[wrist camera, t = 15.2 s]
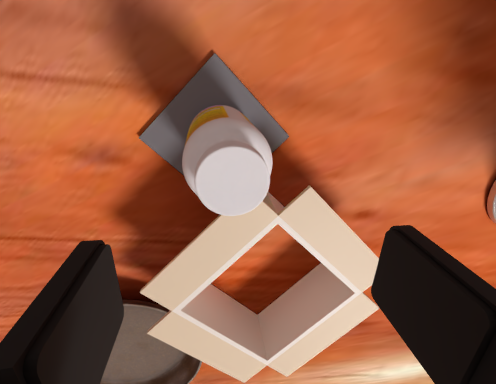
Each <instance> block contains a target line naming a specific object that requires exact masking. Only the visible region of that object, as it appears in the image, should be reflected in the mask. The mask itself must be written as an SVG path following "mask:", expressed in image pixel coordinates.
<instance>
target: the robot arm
mask: <svg viewBox="0 0 496 384" xmlns="http://www.w3.org/2000/svg"><path fill="white" fill-rule="evenodd" d="M487 210H488V214H489V217H490V219H491V220H492V221H493V222H494V223H495V224H496V180H495V181H494V183H493V185H492V187H491V190H490V192H489V196H488V201H487ZM371 293H372V297H373V299H374V300H375V302H376V303H377V305H378V306H379V307H380V309H381V310H382V311H383V313H384V314H385V316H386V317H387V318H388V320H389V321H390V322H391V324H392V325H393V327H394V328H395V329H396V331H397V332H398V334H399V335H400V336H401V338H402V339H403V340H404V342H405V343H406V345H407V346H408V347H409V349H410V350H411V351H412V353H413V354H414V356H415V357H416V358H417V360H418V361H419V363H420V364H421V365H422V367H423V368H424V369H425V371H426V372H427V374H428V375H429V376H430V378H431V379H432V380H433V382H434V383H435V384H496V289H495V288H494V287H492V286H491V285H490V284H488V283H487V282H486V281H484V280H483V279H482V278H480V277H479V276H478V275H476V274H475V273H474V272H472V271H471V270H470V269H468V268H467V267H466V266H464V265H463V264H462V263H460V262H459V261H458V260H456V259H455V258H454V257H452V256H451V255H450V254H448V253H447V252H446V251H444V250H443V249H442V248H440V247H439V246H438V245H436V244H435V243H434V242H432V241H431V240H430V239H428V238H427V237H426V236H424V235H423V234H422V233H420V232H419V231H418V230H416V229H415V228H414V227H412V226H410V225H403V226H393V227H391V228H390V230H389V231H387V232H386V234H385V238H384V242H383V246H382V250H381V253H380V257H379V261H378V265H377V269H376V273H375V276H374V280H373V284H372V288H371ZM123 317H124V306H123V301H122V297H121V292H120V288H119V283H118V278H117V274H116V269H115V264H114V260H113V255H112V251H111V247H110V245H108V244H107V245H105V243H104V242H103V241H102V240H94V241H81V242H80V243H79V244H78V245H77V247H76V248H75V249H74V250H73V252H72V253H71V254H70V255H69V257H68V258H67V259H66V261H65V262H64V263H63V264H62V266H61V267H60V268H59V269H58V271H57V272H56V273H55V274H54V276H53V277H52V278H51V280H50V281H49V282H48V283H47V285H46V286H45V287H44V288H43V290H42V291H41V292H40V293H39V295H38V296H37V297H36V298H35V300H34V301H33V302H32V303H31V305H30V306H29V307H28V308H27V310H26V311H25V312H24V314H23V315H22V316H21V317H20V319H19V320H18V321H17V322H16V324H15V325H14V326H13V327H12V329H11V330H10V331H9V332H8V334H7V335H6V336H5V338H4V339H3V340H2V341H1V343H0V384H100V382H101V379H102V376H103V374H104V371H105V368H106V365H107V363H108V360H109V357H110V354H111V352H112V349H113V346H114V343H115V341H116V338H117V335H118V332H119V329H120V327H121V324H122V321H123Z"/></svg>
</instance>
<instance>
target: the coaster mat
mask: <svg viewBox="0 0 496 384" xmlns="http://www.w3.org/2000/svg"><path fill="white" fill-rule="evenodd" d="M215 105H226V106H230V107H233V108H235V109H237V110H238V111H240V112H241V113H242V114H243V115H245V116H246V117H247V119H248V120H249V121H250V122H251V123H252V124H253V125H254V126H255V127H256V128H257V129H258V130H259V131H260V132H261V133H262V134H263V136H264V137H265V138H266V140H267V142H268V144H269V146H270V149H271V153H273V152H274V151H275V150H276V149H277V148H278V147H279V146H280V145H281V144H282V143H283V142H284V141H285V140H286V139H287V138H288V137H289V136H288V134H287V133H286V132H285V131H284V130H283V129H282V128H281V127H280V125H279V124H278V123H277V122H276V121H275V120H274V119H273V118H272V116H271V115H270V114H269V113H268V112H267V111H266V110H265V109H264V108H263V106H262V105H261V104H260V103H259V102H258V101H257V100H256V99H255V97H254V96H253V95H252V94H251V93H250V92H249V91H248V90H247V88H246V87H245V86H244V85H243V84H242V83H241V82H240V81H239V80H238V78H237V77H236V76H235V75H234V74H233V73H232V72H231V71H230V69H229V68H228V67H227V66H226V65H225V64H224V63H223V62H222V60H221V59H220V58H219V57H218V56H217V55H216V54H214V55H213V56H212V57H211V58H210V59H209V60H208V61H207V62H206V64H205V65H204V66H203V67H202V68H201V69H200V70H199V71H198V72H197V74H196V75H195V76H194V77H193V78H192V79H191V80H190V81H189V82H188V84H187V85H186V86H185V87H184V88H183V89H182V90H181V91H180V92H179V94H178V95H177V96H176V97H175V98H174V99H173V100H172V101H171V102H170V104H169V105H168V106H167V107H166V108H165V109H164V110H163V111H162V112H161V114H160V115H159V116H158V117H157V118H156V119H155V120H154V121H153V122H152V123H151V125H150V126H149V127H148V128H147V129H146V130H145V131H144V132H143V133H142V135H141V136H140V137H139V139H141V140H142V141H143V142H144V143H145V144H147V145H148V146H149V147H150V148H151V149H153V150H154V151H155V152H156V153H157V154H159V155H160V156H161V157H162V158H163V159H165V160H166V161H167V162H168V163H170V164H171V165H172V166H173V167H174V168H176V169H177V170H178V171H179V172H180V173H182V174H183V175H184V173H183V168H182V157H183V151H184V147H185V143H186V138H187V134H188V130H189V127H190V125H191V123H192V121H193V119H194V118H195V117H196V115H197V114H198V113H200V112H201V111H202V110H204V109H206V108H208V107H211V106H215Z"/></svg>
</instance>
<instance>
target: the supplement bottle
mask: <svg viewBox="0 0 496 384" xmlns="http://www.w3.org/2000/svg"><path fill="white" fill-rule="evenodd" d="M272 164H273V161H272V153H271V149H270V146H269V144H268V142H267V140H266V138H265V137H264V136H263V134H262V133H261V132H260V131H259V130H258V129H257V128H256V127H255V126H254V125H253V124H252V123H251V122H250V121H249V120H248V119H247V117H246V116H245V115H243V114H242V113H241V112H240V111H238V110H237V109H235V108H233V107H230V106H226V105H215V106H211V107H208V108H206V109H204V110H202V111H201V112H200V113H198V114H197V115H196V117H195V118H194V119H193V121H192V123H191V125H190V127H189V130H188V134H187V138H186V143H185V147H184V151H183V157H182V168H183V173H184V177H185V179H186V181H187V183H188V185H189V187H190V188H191V189H192V191H193V192H194V193H195V194H196V195H197V196H198V197H199V199H200V200H201V202H202V203H203V204H204V205H205V206H206V207H207V208H208V209H210V210H211V211H213V212H215V213H217V214H220V215H225V216H237V215H242V214H245V213H248V212H250V211H252V210H253V209H255V208H256V207H257V206H258V205H259V204H260V203H261V202H262V201H263V200H264V198H265V196H266V195H267V192H268V189H269V185H270V175H271V171H272Z"/></svg>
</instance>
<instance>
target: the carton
mask: <svg viewBox="0 0 496 384" xmlns="http://www.w3.org/2000/svg"><path fill="white" fill-rule="evenodd" d="M277 224H279V225H280V226H281V227H282V228H283V229H284V230H285V231H287V232H288V233H289V234H290V235H291V236H292V237H293V238H294V239H295V240H297V241H298V242H299V243H300V244H301V245H302V246H303V247H304V248H305V249H307V250H308V251H309V252H310V253H311V254H312V255H313V256H314V257H316V258H317V259H318V260H319V261H320V262H321V263H320V264H319V265H318V266H316V267H315V268H314V269H313V270H311V271H310V272H309V273H308V274H307V275H305V276H304V277H303V278H302V279H300V280H299V281H298V282H297V283H296V284H294V285H293V286H292V287H291V288H290V289H288V290H287V291H286V292H285V293H283V294H282V295H281V296H280V297H279V298H277V299H276V300H275V301H274V302H272V303H271V304H270V305H269V306H268V307H266V308H265V309H264V310H263V311H261V312H260V313H259V314H258V315H257V314H255V313H254V312H252V311H251V310H249V309H248V308H246V307H245V306H243V305H242V304H240V303H239V302H237V301H236V300H234V299H233V298H231V297H230V296H228V295H227V294H225V293H224V292H222V291H221V290H219V289H218V288H216V287H215V286H213V285H212V284H211V283H212V282H213V281H214V280H215V279H216V278H217V277H218V276H220V275H221V274H222V273H223V272H224V271H225V270H226V269H227V268H229V267H230V266H231V265H232V264H233V263H234V262H235V261H236V260H238V259H239V258H240V257H241V256H242V255H243V254H244V253H245V252H247V251H248V250H249V249H250V248H251V247H252V246H253V245H254V244H256V243H257V242H258V241H259V240H260V239H261V238H262V237H263V236H265V235H266V234H267V233H268V232H269V231H270V230H271V229H272V228H274V227H275V226H276V225H277ZM378 261H379V258H378V257H377V256H376V255H375V254H374V253H373V252H372V251H371V250H370V249H369V248H368V247H367V246H366V245H365V243H364V242H363V241H362V240H361V239H360V238H359V237H358V236H357V235H356V234H355V233H354V232H353V231H352V230H351V229H350V228H349V227H348V225H347V224H346V223H345V222H344V221H343V220H342V219H341V218H340V217H339V216H338V215H337V214H336V213H335V212H334V211H333V210H332V209H331V208H330V206H329V205H328V204H327V203H326V202H325V201H324V200H323V199H322V198H321V197H320V196H319V195H318V194H317V193H316V192H315V191H314V190H313V188H312V187H311V186H310V185H309V186H308V187H307V188H306V189H304V190H303V191H302V192H301V193H300V194H299V195H298V196H297V197H296V198H294V199H293V200H292V201H291V202H290V203H289V204H288V205H287V206H285V207H284V206H283V205H282V204H281V203H280V202H279V201H278V200H277V199H276V198H274V197H273V196H272V195H271V194H270V193H269V192H267V195H266V196H265V198H264V200H263V201H262V202H261V203H260V204H259V205H258V206H257V207H256V208H255V209H253V210H252V211H250V212H248V213H245V214H242V215H237V216H225V215H219V216H218V217H217V218H216V219H215V220H214V221H213V222H211V223H210V224H209V225H208V226H207V227H206V228H205V229H204V230H203V231H202V232H201V233H200V234H199V235H198V236H197V237H196V238H195V239H194V240H192V241H191V242H190V243H189V244H188V245H187V246H186V247H185V248H184V249H183V250H182V251H181V252H180V253H179V254H178V255H177V256H176V257H175V258H173V259H172V260H171V261H170V262H169V263H168V264H167V265H166V266H165V267H164V268H163V269H162V270H161V271H160V272H159V273H158V274H157V275H156V276H155V277H153V278H152V279H151V280H150V281H149V282H148V283H147V284H146V285H145V286H144V287H143V288H142V289H141V290H140V293H141V294H143V295H144V296H146V297H148V298H150V299H151V300H153V301H155V302H157V303H158V304H160V305H162V306H164V307H165V308H167V309H169V310H170V311H169V312H168V313H166V314H165V315H164V316H163V317H162V318H161V319H160V320H159V321H158V322H156V323H155V324H154V325H153V326H152V327H151V328H150V329H149V330H148V331H147V334H149V335H151V336H153V337H155V338H157V339H159V340H161V341H163V342H165V343H167V344H169V345H171V346H173V347H175V348H176V349H178V350H180V351H182V352H184V353H186V354H188V355H190V356H192V357H194V358H196V359H198V360H200V361H202V362H204V363H206V364H208V365H210V366H212V367H214V368H216V369H218V370H220V371H222V372H224V373H226V374H228V375H230V376H232V377H234V378H236V379H238V380H240V381H242V382H244V383H245V382H246V381H247V380H249V379H250V378H251V377H253V376H254V375H255V374H256V373H258V372H259V371H260V370H262V369H263V368H264V367H266V366H269V367H271V368H273V369H274V370H276V371H278V372H280V373H281V374H283V375H285V376H287V377H288V376H289V375H290V374H292V373H293V372H294V371H296V370H297V369H298V368H300V367H301V366H302V365H304V364H305V363H306V362H308V361H309V360H310V359H312V358H313V357H315V356H316V355H317V354H319V353H320V352H321V351H323V350H324V349H325V348H327V347H328V346H329V345H331V344H332V343H333V342H335V341H336V340H337V339H339V338H340V337H341V336H343V335H344V334H346V333H347V332H348V331H350V330H351V329H352V328H354V327H355V326H356V325H358V324H359V323H360V322H362V321H363V320H364V319H366V318H367V317H368V316H370V315H371V314H372V313H374V312H375V311H377V310H378V309H379V307H378V306H377V305H376V304H375V303H374V302H373V301H372V300H371V299H370V298H369V297H367V296H366V295H365V294H364V293H363V291H365V290H366V289H367V288H369V287H370V286H371V285H372V284H373V280H374V276H375V273H376V269H377V265H378Z"/></svg>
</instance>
